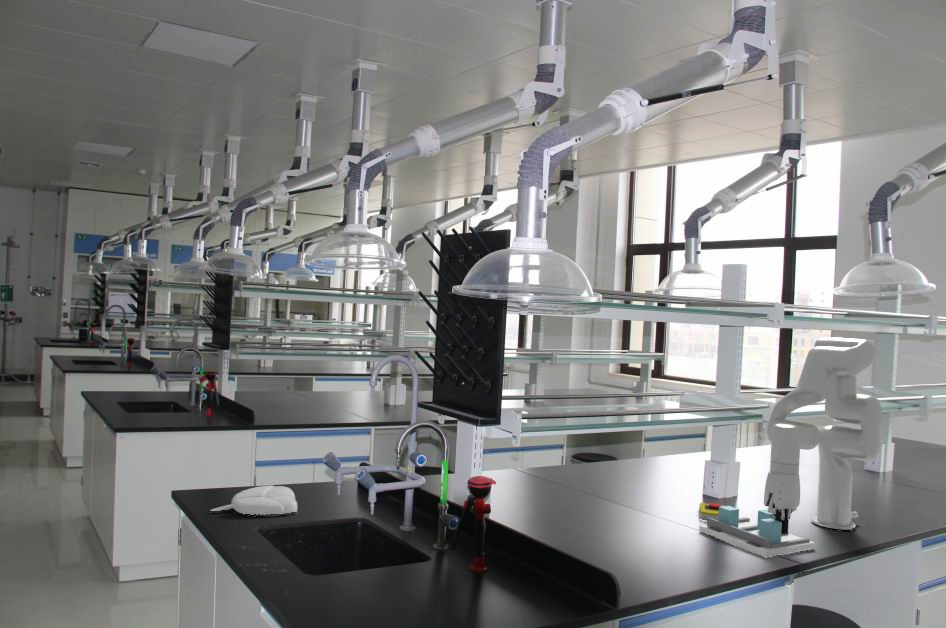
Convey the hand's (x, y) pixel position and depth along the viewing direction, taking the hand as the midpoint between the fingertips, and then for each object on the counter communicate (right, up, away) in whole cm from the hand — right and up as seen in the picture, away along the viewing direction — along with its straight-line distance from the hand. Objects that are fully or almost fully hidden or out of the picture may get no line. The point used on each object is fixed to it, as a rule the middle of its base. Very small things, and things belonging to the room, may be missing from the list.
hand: (781, 532), depth 204 cm
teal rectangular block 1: (-12, -1, +10) cm, 15 cm away
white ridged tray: (-5, -4, +5) cm, 9 cm away
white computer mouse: (-154, +2, +13) cm, 154 cm away
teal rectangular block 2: (-4, -2, -2) cm, 5 cm away
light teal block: (-1, -2, +8) cm, 8 cm away
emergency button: (-10, -4, +28) cm, 30 cm away
